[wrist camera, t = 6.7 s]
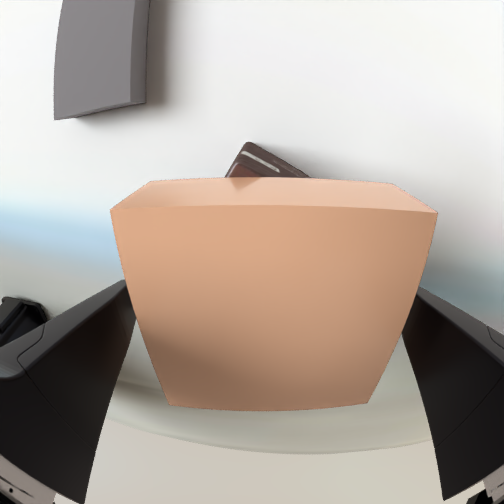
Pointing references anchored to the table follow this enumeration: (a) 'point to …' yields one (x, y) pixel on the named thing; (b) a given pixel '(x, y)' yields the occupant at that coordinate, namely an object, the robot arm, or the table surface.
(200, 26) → the table surface
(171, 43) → the table surface
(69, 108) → the block
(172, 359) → the tile
